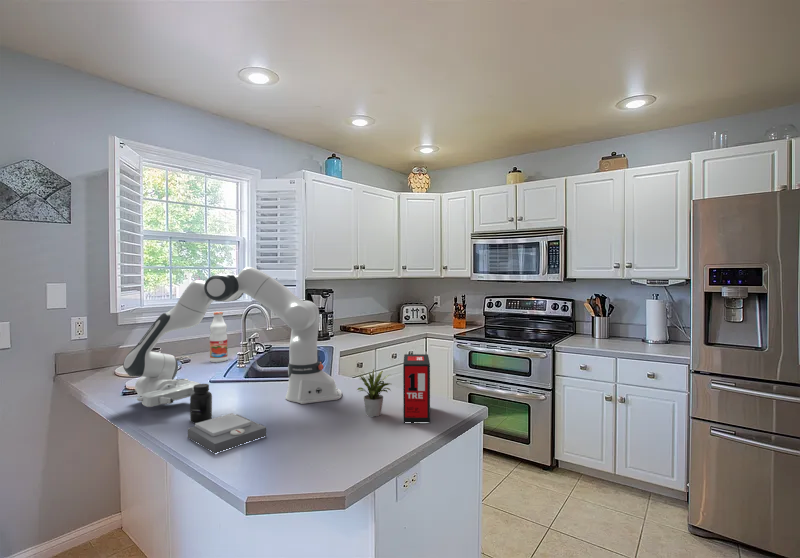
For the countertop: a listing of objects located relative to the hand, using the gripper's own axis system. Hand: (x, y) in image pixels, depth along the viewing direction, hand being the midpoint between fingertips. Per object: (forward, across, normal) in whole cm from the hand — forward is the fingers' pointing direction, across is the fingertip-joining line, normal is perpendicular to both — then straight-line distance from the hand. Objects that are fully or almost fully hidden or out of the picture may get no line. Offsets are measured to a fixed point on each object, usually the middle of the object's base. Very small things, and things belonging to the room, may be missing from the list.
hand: (184, 397), depth 148 cm
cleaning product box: (+71, +44, +6) cm, 84 cm away
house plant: (+57, +35, +6) cm, 68 cm away
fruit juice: (-71, +59, +6) cm, 93 cm away
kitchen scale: (+32, -4, +6) cm, 33 cm away
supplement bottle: (+11, 0, +6) cm, 12 cm away
